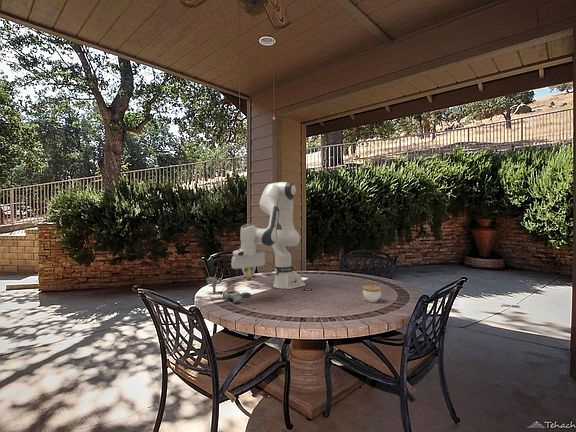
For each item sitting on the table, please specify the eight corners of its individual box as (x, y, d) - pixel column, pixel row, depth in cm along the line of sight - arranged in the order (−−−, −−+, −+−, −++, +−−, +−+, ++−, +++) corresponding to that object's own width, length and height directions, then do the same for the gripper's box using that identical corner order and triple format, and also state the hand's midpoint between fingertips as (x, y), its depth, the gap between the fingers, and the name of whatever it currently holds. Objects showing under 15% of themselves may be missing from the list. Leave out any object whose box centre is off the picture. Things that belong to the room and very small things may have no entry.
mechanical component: (220, 294, 212) (220, 278, 212) (205, 293, 214) (205, 278, 214) (222, 293, 215) (222, 277, 215) (207, 292, 217) (207, 277, 217)
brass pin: (250, 279, 200) (250, 265, 200) (252, 280, 198) (252, 266, 197) (245, 279, 199) (245, 266, 198) (247, 280, 196) (247, 267, 196)
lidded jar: (382, 303, 190) (382, 287, 189) (362, 302, 192) (362, 286, 191) (380, 298, 200) (380, 282, 200) (362, 297, 202) (362, 282, 202)
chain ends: (247, 294, 211) (247, 288, 211) (257, 301, 197) (257, 294, 197) (222, 298, 203) (222, 291, 203) (231, 305, 189) (231, 298, 189)
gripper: (262, 249, 205) (262, 271, 206) (230, 252, 195) (230, 275, 196) (266, 250, 200) (267, 273, 200) (233, 253, 190) (234, 278, 190)
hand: (248, 274), depth 198 cm, fingers closed on brass pin, 3 cm apart
